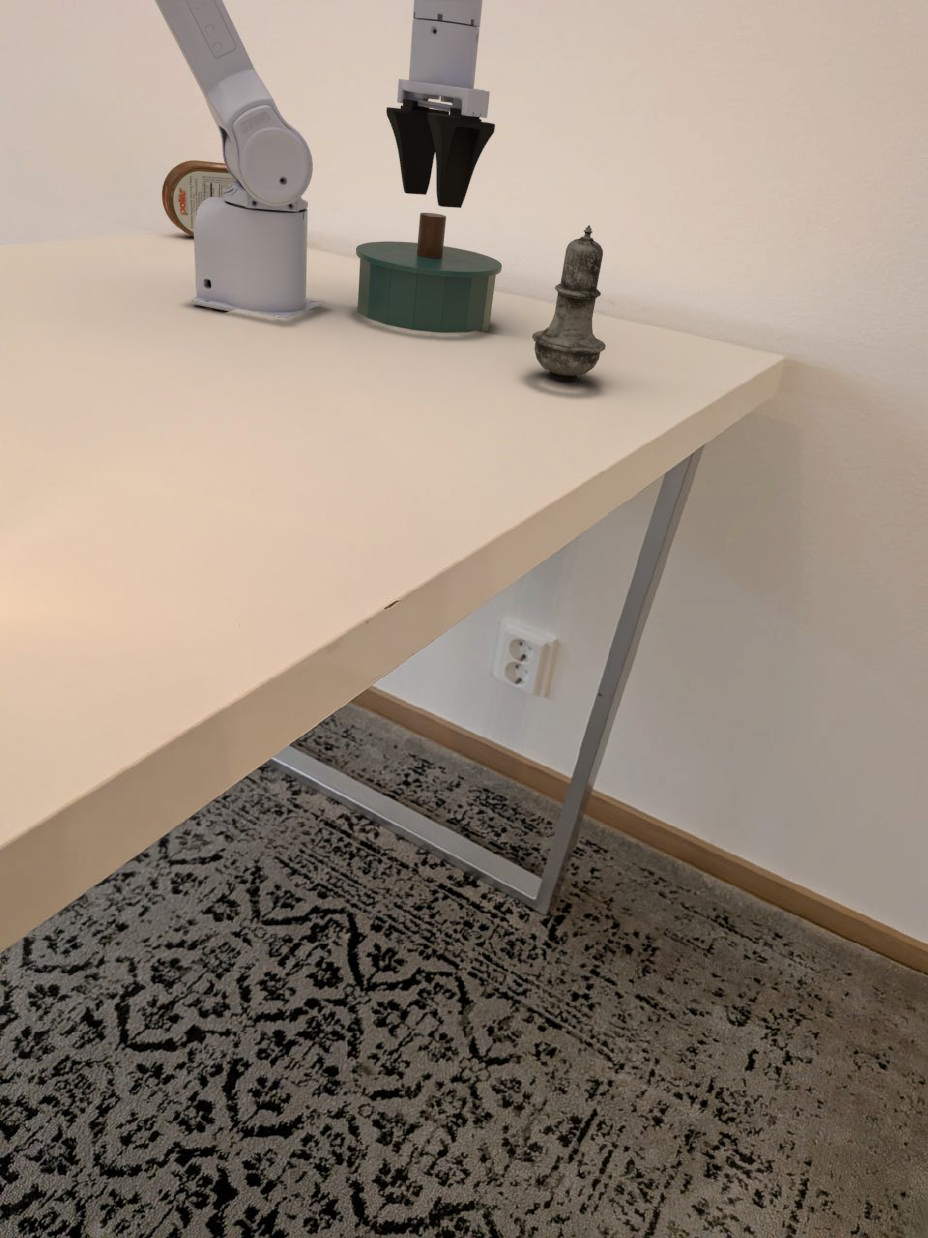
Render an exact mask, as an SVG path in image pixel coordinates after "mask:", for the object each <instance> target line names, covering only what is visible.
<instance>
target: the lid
mask: <svg viewBox="0 0 928 1238" xmlns="http://www.w3.org/2000/svg"><path fill="white" fill-rule="evenodd" d="M418 221H419V223H418V234H417V242H410V241H387V240H385V241H370V242H365V243H361V244H359V245H357V246H356V248H355V254H356V257H358V258H359V260H360V259H362V260H364V261H366V262H369V263H372V264H375V265H378V266H381V267H385V268H389V269H394V270H399V271H404V272H410V273H416V274H423V275H432V276H442V277H460V278H475V277H488V276H493V275H496V276H497V275H499V274H500V273H501V272H502V267H503V265H502V262H500V261H499V260H497V259H495V258H493V257H491V256H489V255H486V254H483V253H479V252H476V251H472V250H467V249H463V248H457V247H451V246H445V237H446V236H445V234H446V223H447V216H446V215H444V214H441V213H434V212H420V213H419V220H418Z"/></svg>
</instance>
